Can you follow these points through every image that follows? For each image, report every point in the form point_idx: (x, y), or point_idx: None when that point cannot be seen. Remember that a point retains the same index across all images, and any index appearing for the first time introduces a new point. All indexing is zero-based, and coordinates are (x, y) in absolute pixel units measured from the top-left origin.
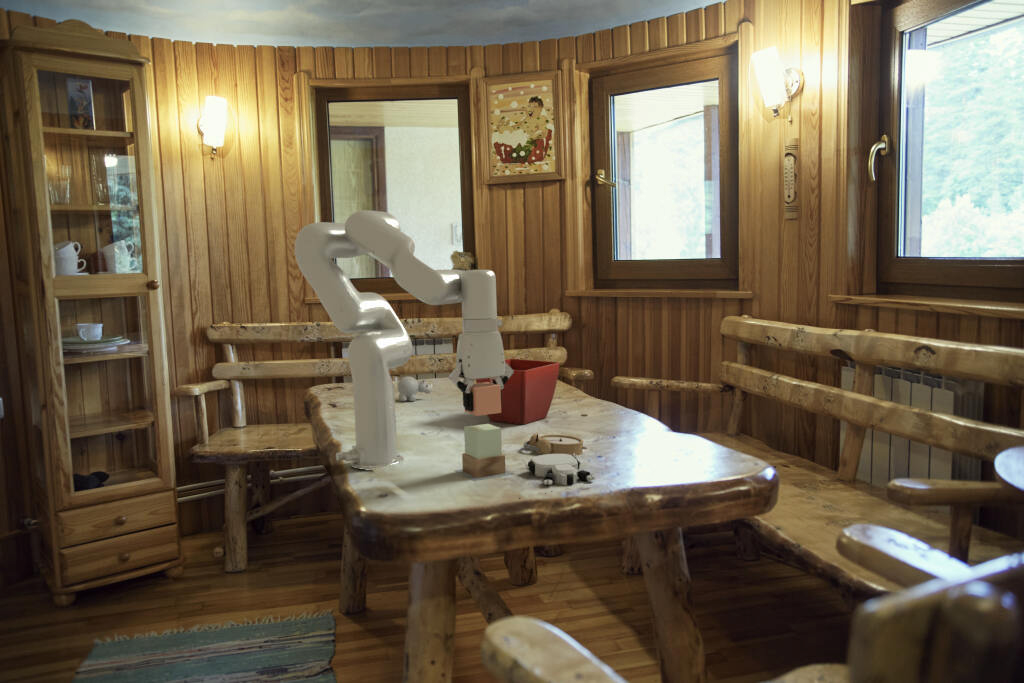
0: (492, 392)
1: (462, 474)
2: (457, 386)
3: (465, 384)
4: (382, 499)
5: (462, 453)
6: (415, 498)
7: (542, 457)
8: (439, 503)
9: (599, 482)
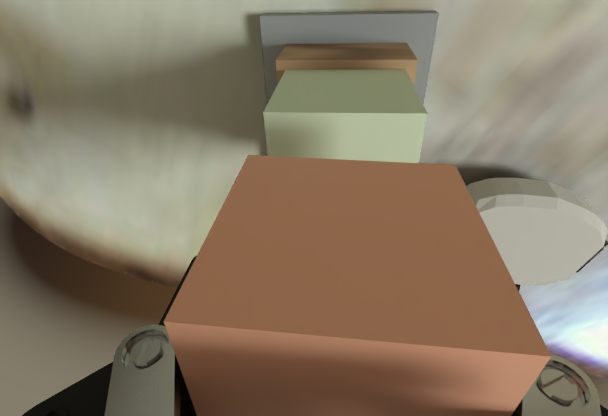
0: None
1: (268, 86)
2: (61, 403)
3: (149, 414)
4: (22, 135)
5: (276, 61)
6: (106, 172)
7: (508, 224)
8: (156, 229)
9: (537, 296)
